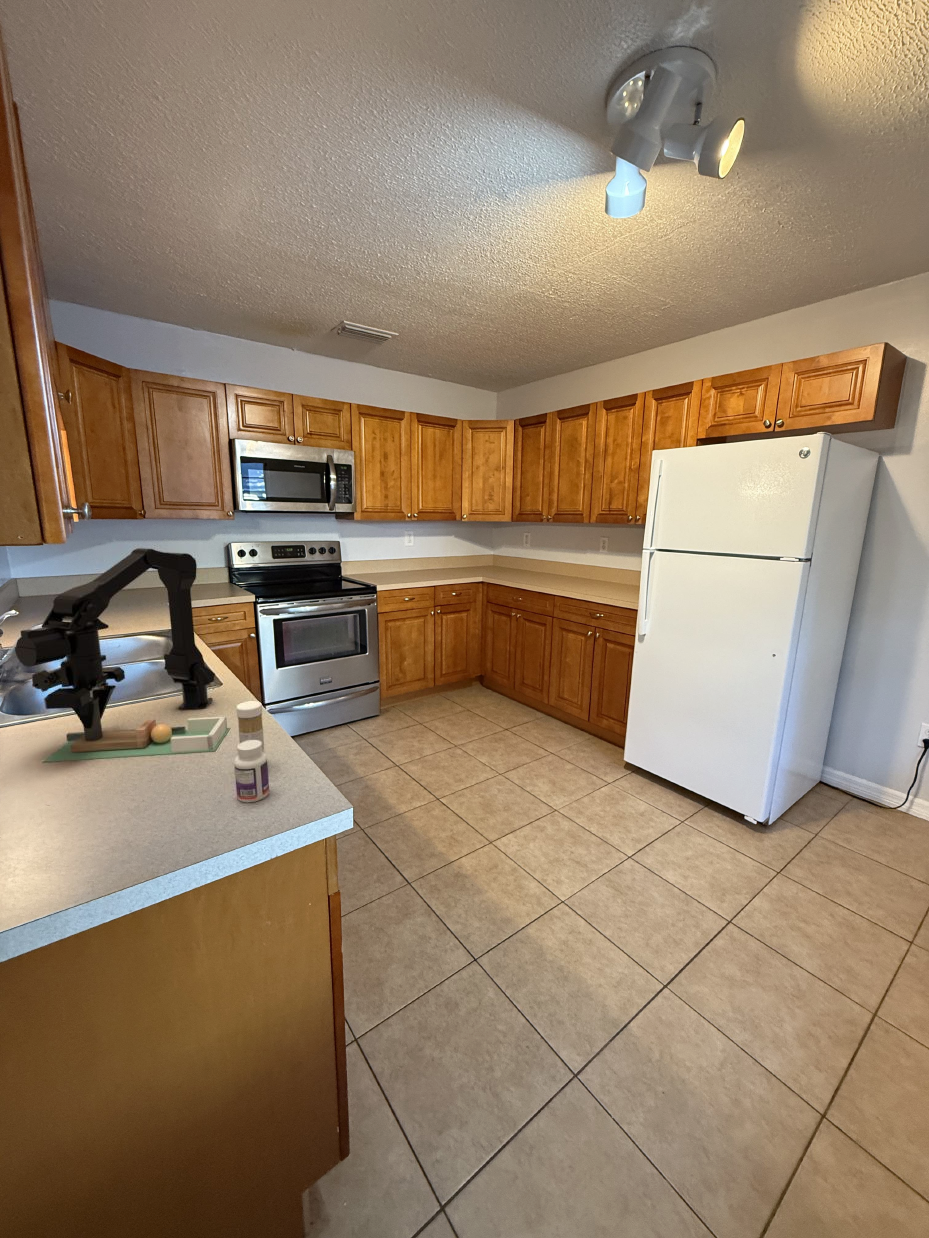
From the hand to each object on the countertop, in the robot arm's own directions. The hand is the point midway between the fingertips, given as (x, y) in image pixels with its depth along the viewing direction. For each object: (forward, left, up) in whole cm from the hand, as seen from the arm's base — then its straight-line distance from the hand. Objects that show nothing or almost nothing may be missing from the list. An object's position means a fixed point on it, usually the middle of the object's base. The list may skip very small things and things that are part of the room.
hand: (93, 724), depth 105 cm
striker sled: (0, +4, -5) cm, 6 cm away
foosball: (0, +13, -3) cm, 13 cm away
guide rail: (-4, +5, -5) cm, 8 cm away
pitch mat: (0, +9, -5) cm, 11 cm away
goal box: (0, +21, -5) cm, 21 cm away
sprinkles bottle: (+15, +35, -5) cm, 38 cm away
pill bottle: (+25, +37, -5) cm, 45 cm away
